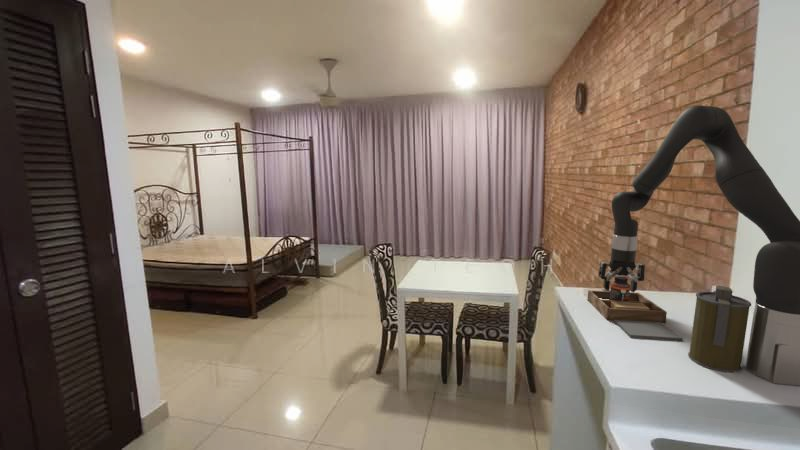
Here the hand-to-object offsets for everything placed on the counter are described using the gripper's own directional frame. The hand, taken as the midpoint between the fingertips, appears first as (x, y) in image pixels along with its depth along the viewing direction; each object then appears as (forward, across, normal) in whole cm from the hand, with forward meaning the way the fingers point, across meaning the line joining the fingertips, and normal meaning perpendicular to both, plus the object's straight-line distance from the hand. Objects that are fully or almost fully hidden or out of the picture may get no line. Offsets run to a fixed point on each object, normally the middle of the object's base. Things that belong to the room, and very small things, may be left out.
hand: (619, 290), depth 128 cm
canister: (+6, +8, -37) cm, 38 cm away
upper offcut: (+4, 0, -9) cm, 10 cm away
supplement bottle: (+6, 0, 0) cm, 6 cm away
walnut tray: (+6, 0, -4) cm, 7 cm away
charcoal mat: (+6, 0, -20) cm, 21 cm away
